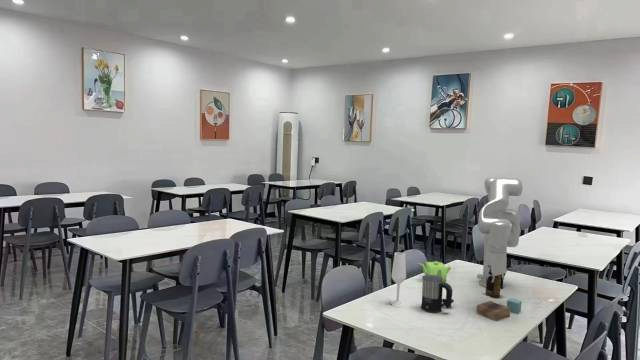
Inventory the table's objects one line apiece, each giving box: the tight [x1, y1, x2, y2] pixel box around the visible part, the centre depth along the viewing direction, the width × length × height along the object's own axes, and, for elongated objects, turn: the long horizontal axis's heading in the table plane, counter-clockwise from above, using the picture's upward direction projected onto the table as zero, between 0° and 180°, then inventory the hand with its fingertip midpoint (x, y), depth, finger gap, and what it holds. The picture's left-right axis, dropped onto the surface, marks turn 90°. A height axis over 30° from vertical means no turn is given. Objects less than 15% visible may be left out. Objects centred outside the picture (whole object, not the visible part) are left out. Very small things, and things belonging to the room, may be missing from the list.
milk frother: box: [420, 274, 455, 313], centre depth 203 cm, size 14×16×15 cm
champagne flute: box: [390, 251, 407, 307], centre depth 206 cm, size 7×7×24 cm
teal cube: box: [506, 297, 523, 315], centre depth 203 cm, size 5×5×5 cm
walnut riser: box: [476, 300, 511, 322], centre depth 197 cm, size 10×10×4 cm
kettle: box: [419, 261, 452, 283], centre depth 243 cm, size 15×14×11 cm
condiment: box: [481, 273, 508, 300], centre depth 196 cm, size 7×8×12 cm
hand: (494, 288), depth 196 cm, fingers closed on condiment, 6 cm apart
